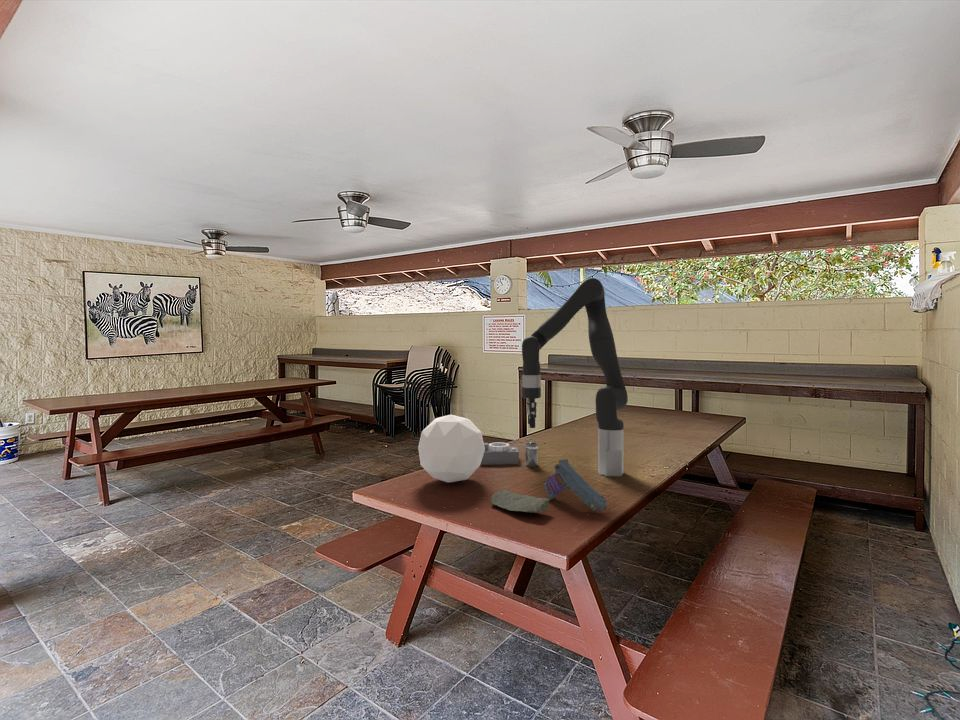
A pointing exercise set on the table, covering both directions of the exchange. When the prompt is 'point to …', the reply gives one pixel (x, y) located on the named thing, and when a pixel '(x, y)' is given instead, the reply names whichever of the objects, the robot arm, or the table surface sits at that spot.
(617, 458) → the robot arm
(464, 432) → the geometric sphere
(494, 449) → the camera body
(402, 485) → the table surface
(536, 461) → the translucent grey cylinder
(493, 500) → the stone
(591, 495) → the toy gun
